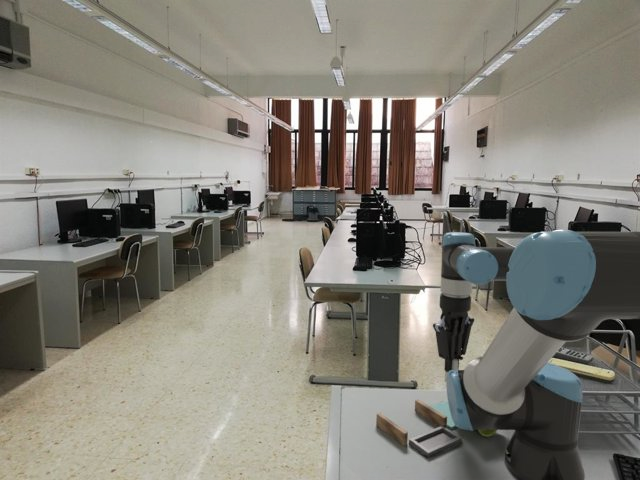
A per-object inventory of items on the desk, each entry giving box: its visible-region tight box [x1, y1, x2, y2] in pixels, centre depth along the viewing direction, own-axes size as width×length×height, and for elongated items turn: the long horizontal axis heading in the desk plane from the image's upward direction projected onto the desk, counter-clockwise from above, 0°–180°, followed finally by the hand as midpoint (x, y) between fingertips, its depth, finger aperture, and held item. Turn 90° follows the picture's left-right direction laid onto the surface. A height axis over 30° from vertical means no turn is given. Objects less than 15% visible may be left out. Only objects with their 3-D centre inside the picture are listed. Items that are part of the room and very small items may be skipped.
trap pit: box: [408, 425, 463, 459], centre depth 99 cm, size 6×11×1 cm, turn 122°
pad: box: [429, 401, 458, 431], centre depth 112 cm, size 10×10×1 cm
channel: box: [376, 399, 448, 447], centre depth 106 cm, size 10×14×3 cm
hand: (450, 382), depth 111 cm, fingers closed
